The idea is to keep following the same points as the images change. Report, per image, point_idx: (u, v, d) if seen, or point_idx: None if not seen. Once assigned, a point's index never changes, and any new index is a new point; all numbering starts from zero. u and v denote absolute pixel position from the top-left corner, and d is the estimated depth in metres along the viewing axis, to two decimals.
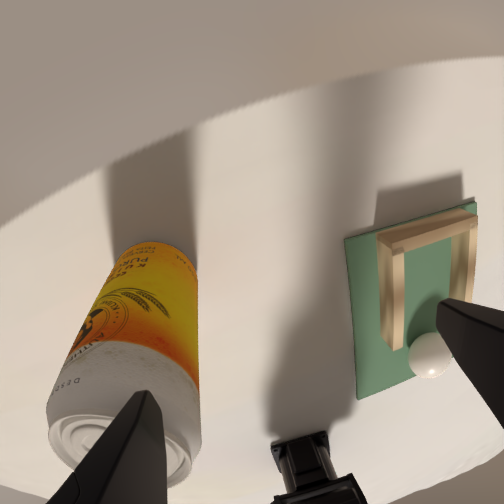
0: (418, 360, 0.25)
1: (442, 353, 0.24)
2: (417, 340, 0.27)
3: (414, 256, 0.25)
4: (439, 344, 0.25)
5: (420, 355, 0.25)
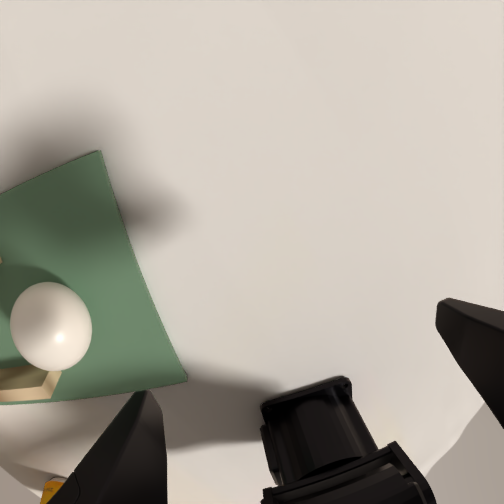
0: None
1: (16, 346, 0.12)
2: None
3: None
4: None
5: None
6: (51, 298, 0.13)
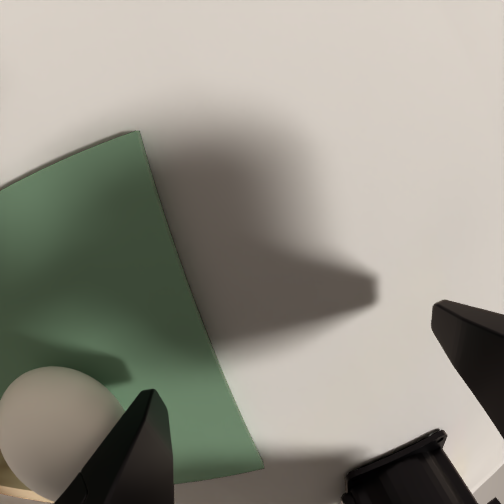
0: None
1: None
2: None
3: None
4: None
5: None
6: (60, 412, 0.06)
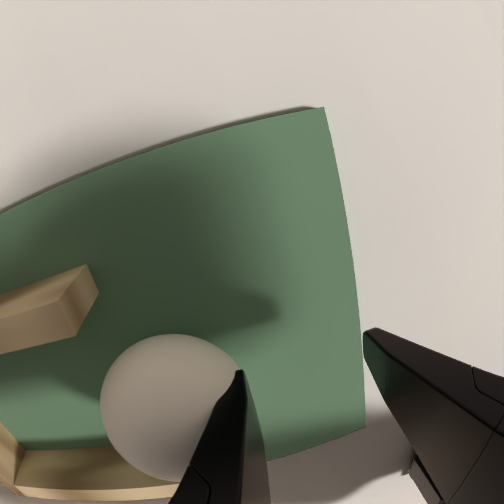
0: None
1: None
2: None
3: (21, 412, 0.10)
4: None
5: None
6: (175, 389, 0.07)
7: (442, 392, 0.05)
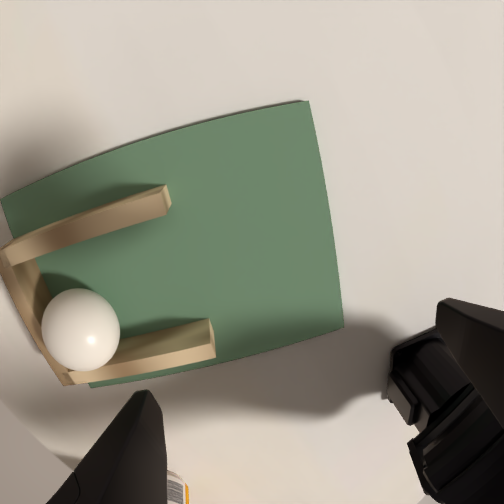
0: (116, 347, 0.16)
1: (96, 318, 0.14)
2: (87, 369, 0.14)
3: None
4: (88, 333, 0.14)
5: (113, 351, 0.15)
6: None
7: None
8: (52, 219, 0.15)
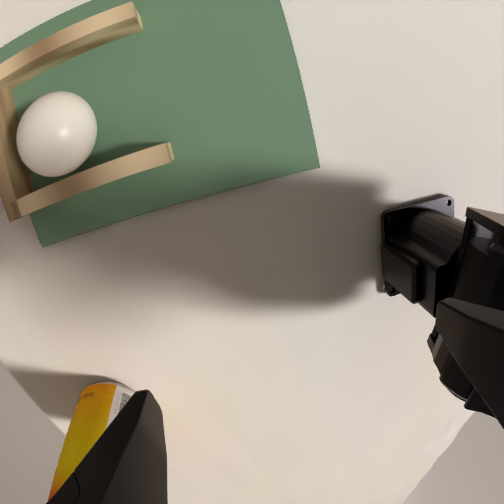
0: (93, 146, 0.15)
1: (87, 103, 0.13)
2: (70, 154, 0.13)
3: None
4: (83, 107, 0.13)
5: (93, 142, 0.14)
6: None
7: None
8: None
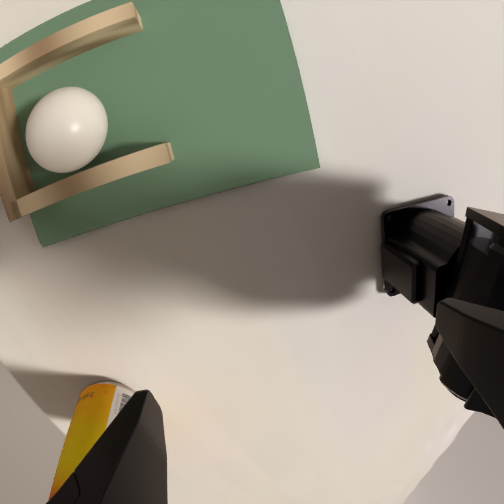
0: None
1: None
2: (89, 147, 0.13)
3: None
4: (100, 103, 0.13)
5: None
6: None
7: None
8: None
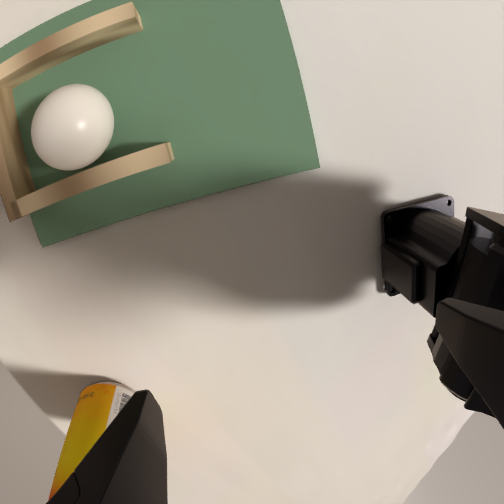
0: None
1: None
2: (100, 143, 0.14)
3: None
4: (108, 101, 0.14)
5: None
6: None
7: None
8: None
